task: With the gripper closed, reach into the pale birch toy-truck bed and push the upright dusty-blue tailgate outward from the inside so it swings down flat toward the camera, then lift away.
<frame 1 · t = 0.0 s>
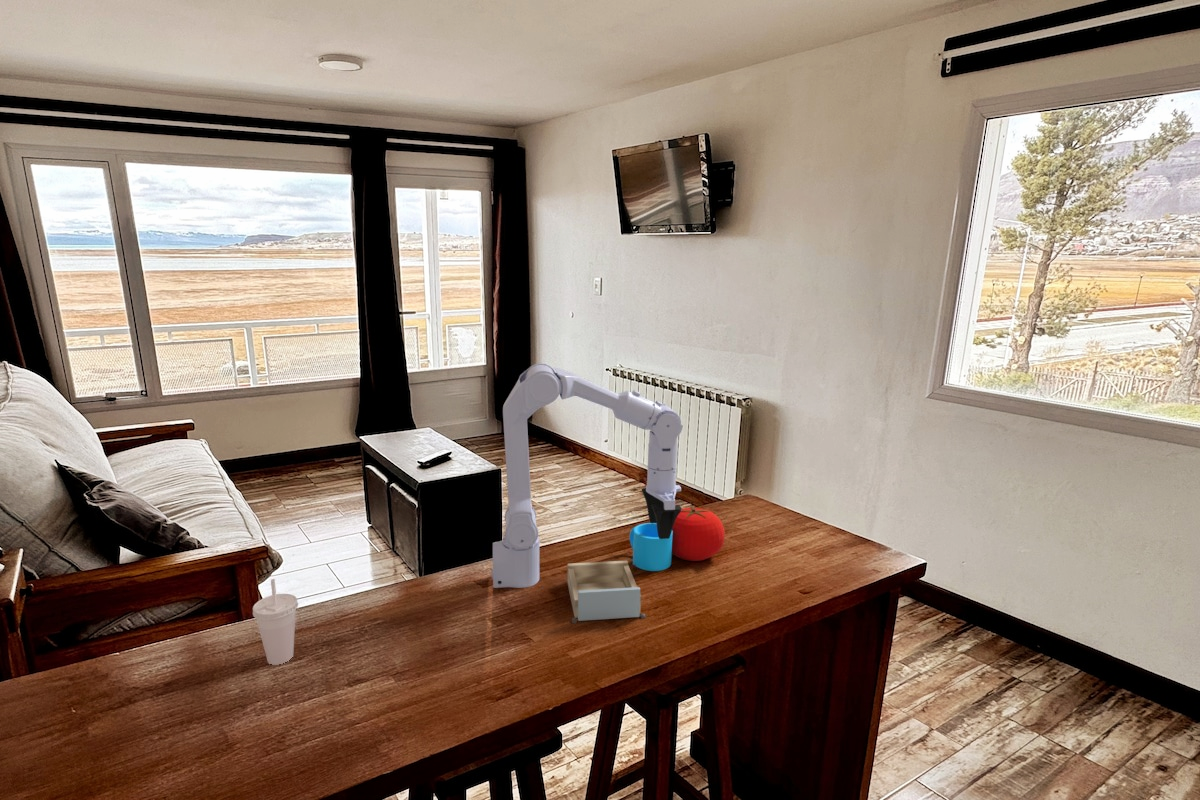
hand: (659, 530, 129), 10 cm above the breakfast bar, tool pointing down, fingers open, 7 cm apart
truck bed: (602, 602, 120), on the breakfast bar
tailgate: (609, 603, 112), point 4 cm above the breakfast bar, hinge at 0.0°
mug: (646, 563, 137), on the breakfast bar
tomato: (692, 556, 140), on the breakfast bar
smoothie: (280, 659, 102), on the breakfast bar
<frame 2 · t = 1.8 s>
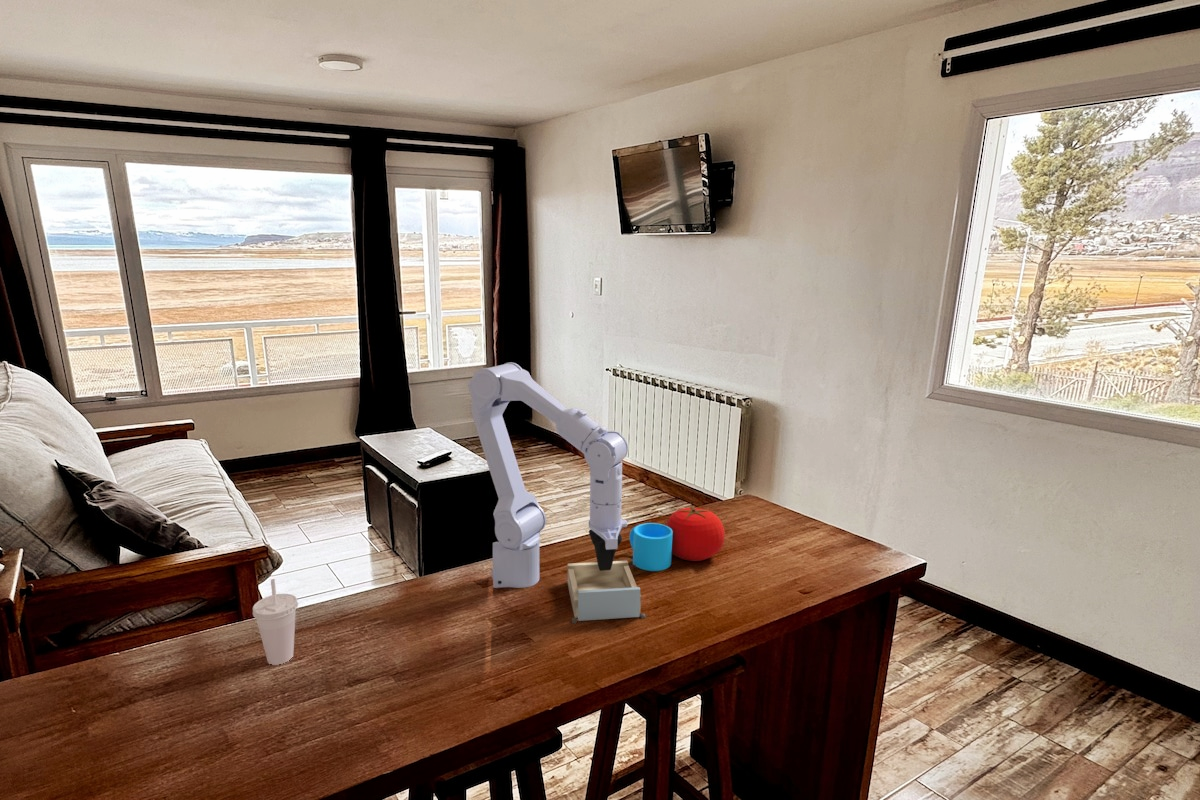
hand: (604, 568, 117), 8 cm above the breakfast bar, tool pointing down, fingers closed
nothing on the breakfast bar moved.
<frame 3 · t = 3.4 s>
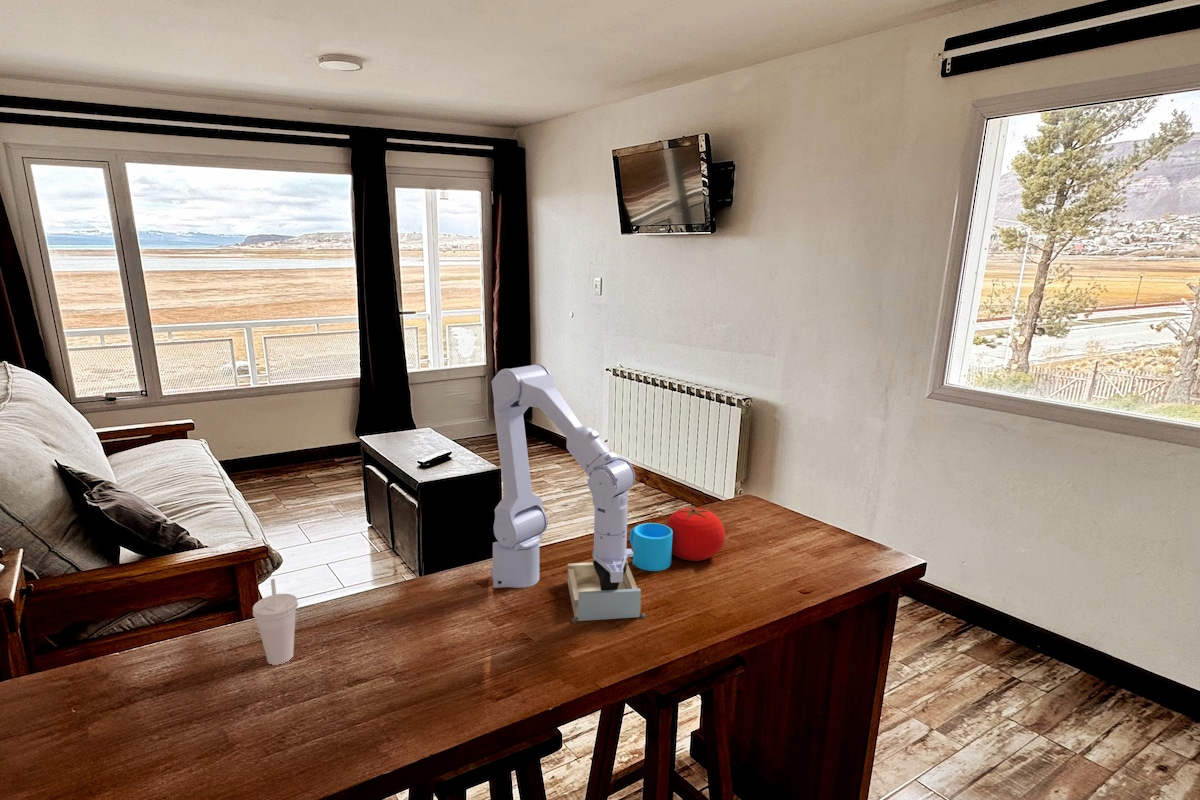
hand: (608, 599, 113), 4 cm above the breakfast bar, tool pointing down, fingers closed, pressing on tailgate
tailgate: (609, 604, 112), point 4 cm above the breakfast bar, hinge at 4.9°, touching gripper
everything else where it was.
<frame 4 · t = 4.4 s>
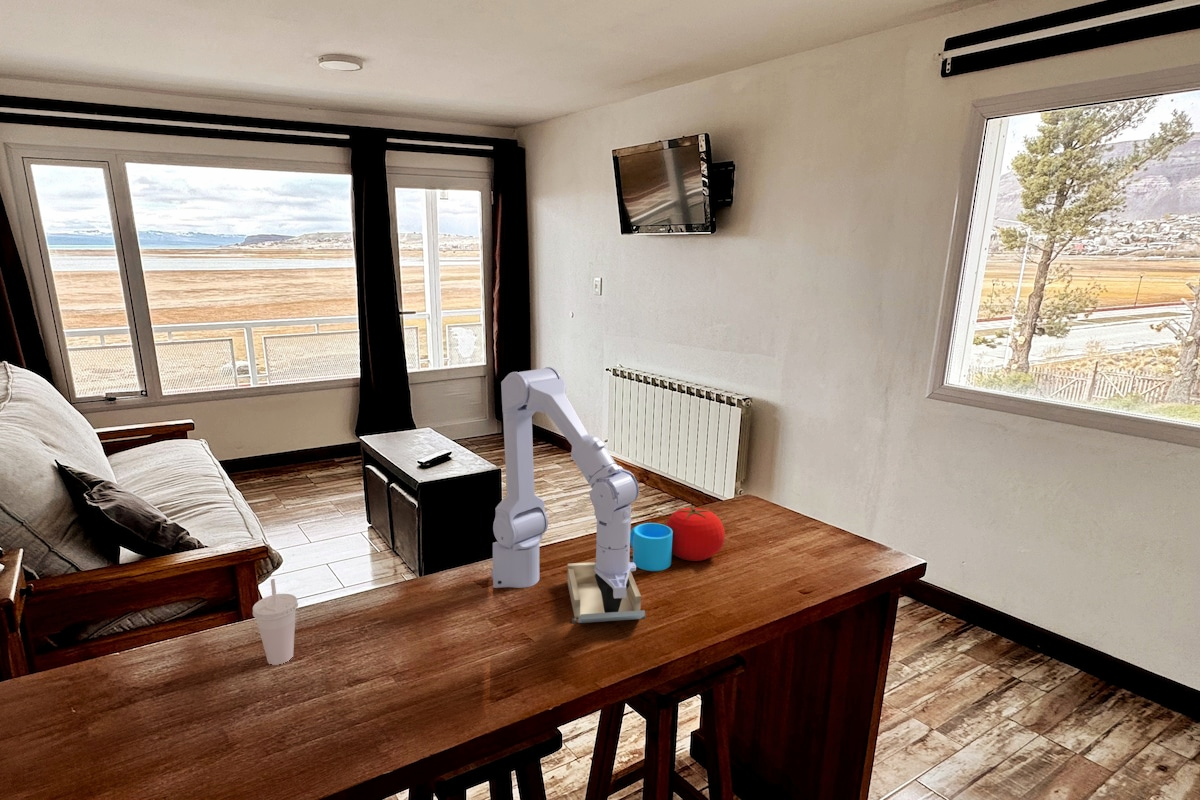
hand: (611, 614, 110), 3 cm above the breakfast bar, tool pointing down, fingers closed, pressing on tailgate
tailgate: (611, 616, 110), point 3 cm above the breakfast bar, hinge at 51.8°, touching gripper
everything else where it was.
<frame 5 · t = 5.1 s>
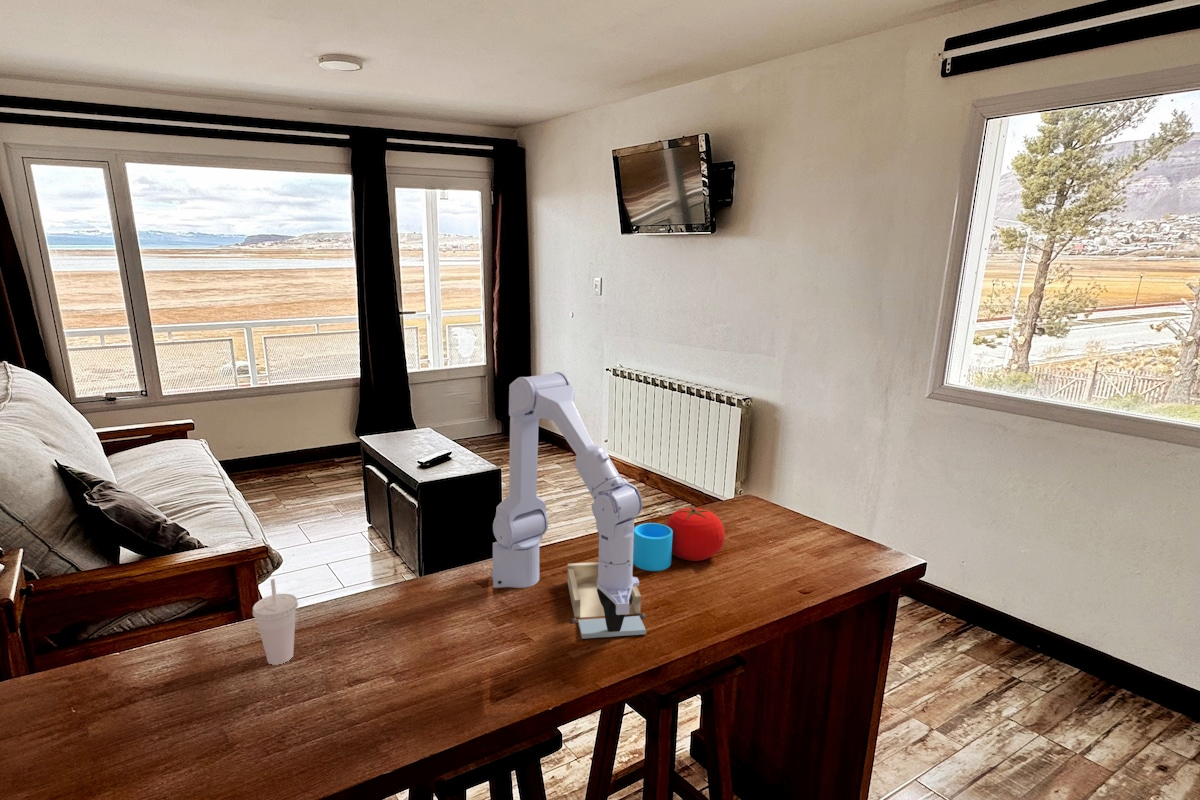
hand: (613, 630, 108), 2 cm above the breakfast bar, tool pointing down, fingers closed, pressing on tailgate
tailgate: (611, 626, 110), point 1 cm above the breakfast bar, hinge at 84.0°, touching gripper
everything else where it was.
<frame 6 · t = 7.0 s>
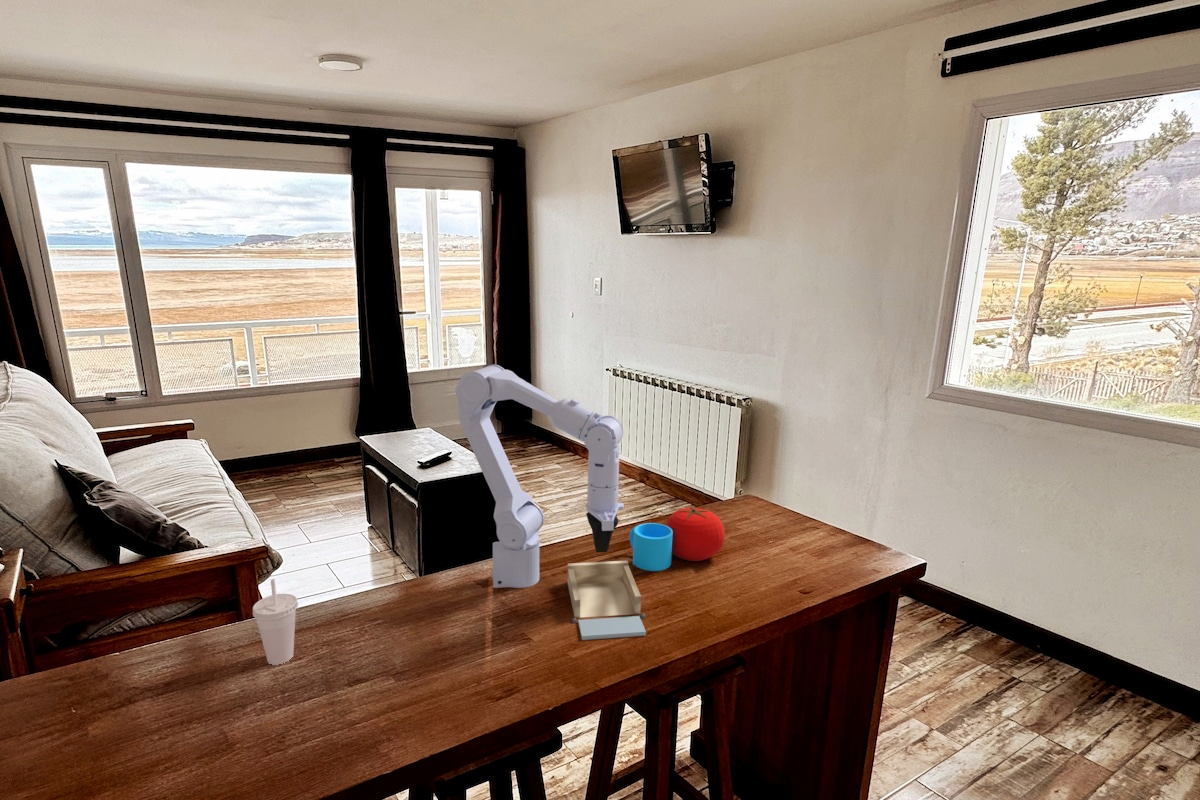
hand: (601, 550, 120), 10 cm above the breakfast bar, tool pointing down, fingers closed
tailgate: (611, 627, 110), point 1 cm above the breakfast bar, hinge at 87.3°
everything else where it was.
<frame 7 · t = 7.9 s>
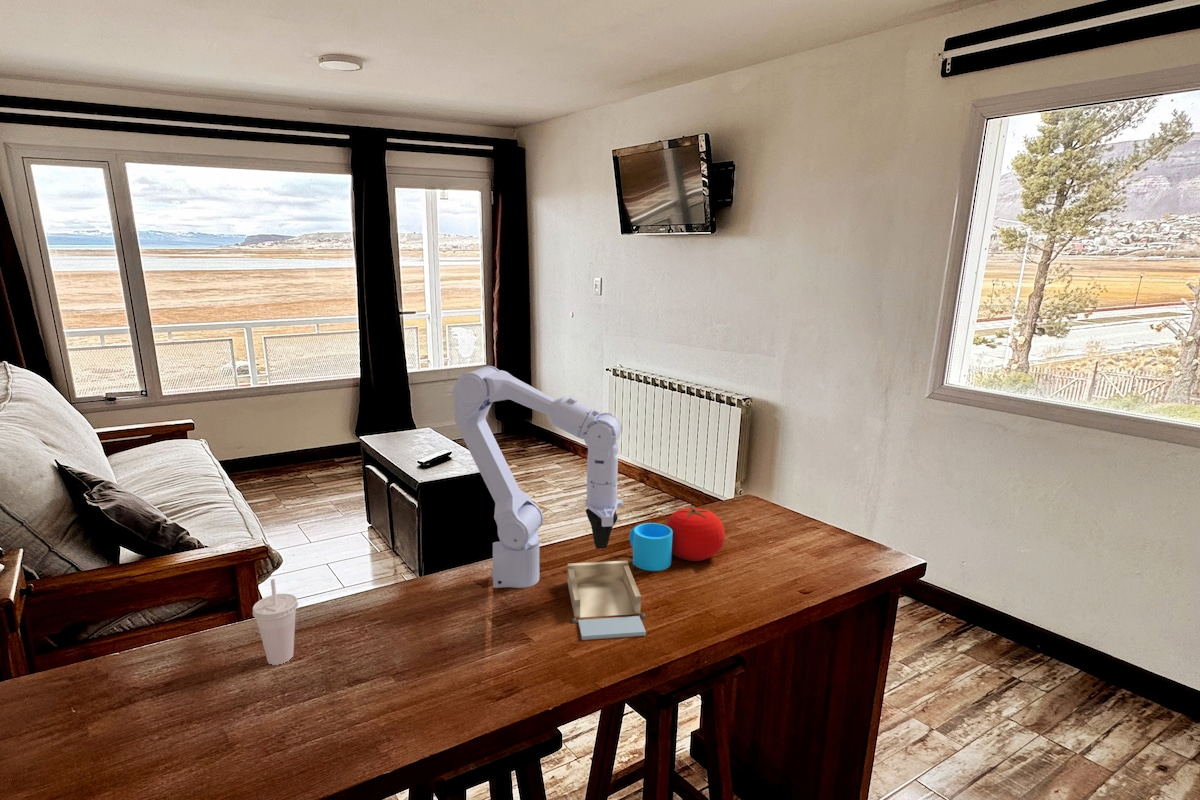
hand: (600, 546, 121), 10 cm above the breakfast bar, tool pointing down, fingers closed
nothing on the breakfast bar moved.
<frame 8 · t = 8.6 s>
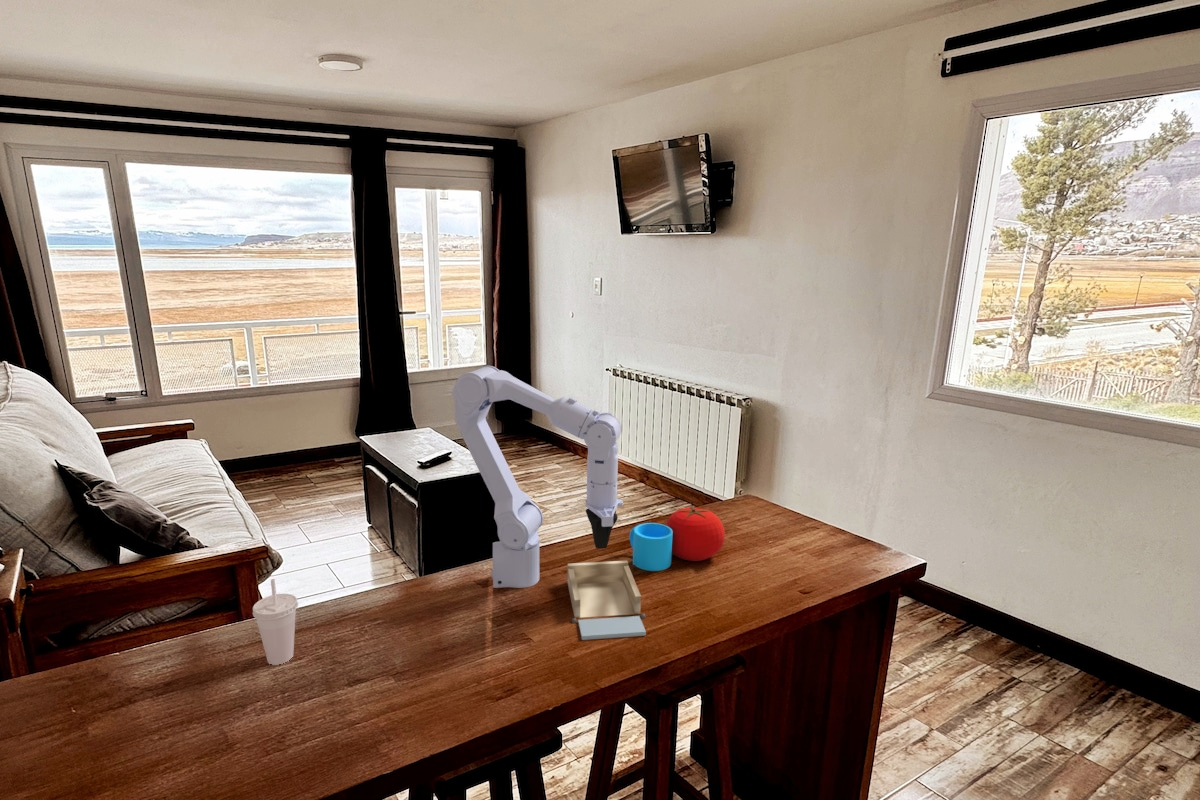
hand: (600, 546, 121), 10 cm above the breakfast bar, tool pointing down, fingers closed
nothing on the breakfast bar moved.
at the end: tailgate at +87° (first picture: +0°); tailgate touching nothing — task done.
